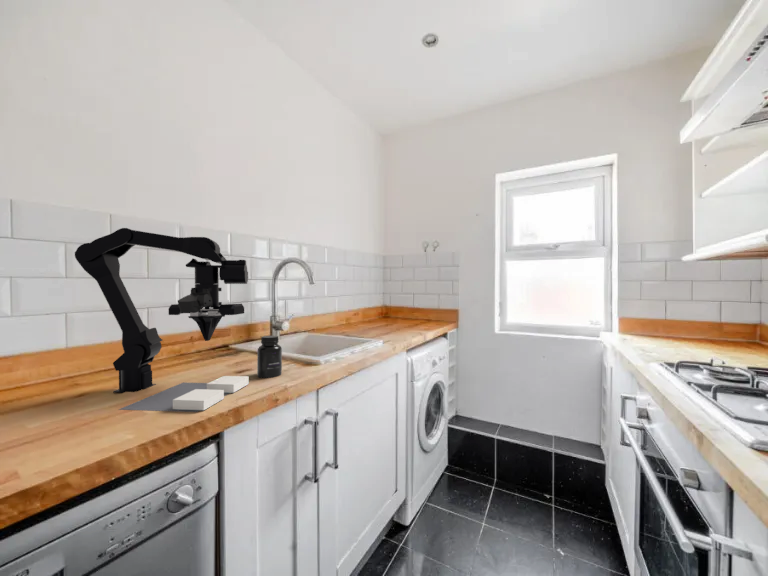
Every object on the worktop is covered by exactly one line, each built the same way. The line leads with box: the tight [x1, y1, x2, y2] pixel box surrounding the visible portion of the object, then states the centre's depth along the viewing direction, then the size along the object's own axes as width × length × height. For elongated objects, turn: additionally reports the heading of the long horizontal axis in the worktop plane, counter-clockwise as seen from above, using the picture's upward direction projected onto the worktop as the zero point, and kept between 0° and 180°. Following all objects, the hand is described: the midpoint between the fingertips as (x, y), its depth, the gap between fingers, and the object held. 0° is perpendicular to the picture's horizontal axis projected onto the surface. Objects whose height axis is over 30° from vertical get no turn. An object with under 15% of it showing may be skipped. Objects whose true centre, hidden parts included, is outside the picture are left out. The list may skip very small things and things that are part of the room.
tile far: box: [207, 375, 250, 394], centre depth 81 cm, size 2×7×7 cm
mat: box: [118, 382, 231, 413], centre depth 76 cm, size 18×19×1 cm
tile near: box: [173, 389, 225, 412], centre depth 70 cm, size 2×7×7 cm
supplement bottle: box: [256, 335, 283, 379], centre depth 93 cm, size 7×7×12 cm
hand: (207, 340), depth 87 cm, fingers closed
